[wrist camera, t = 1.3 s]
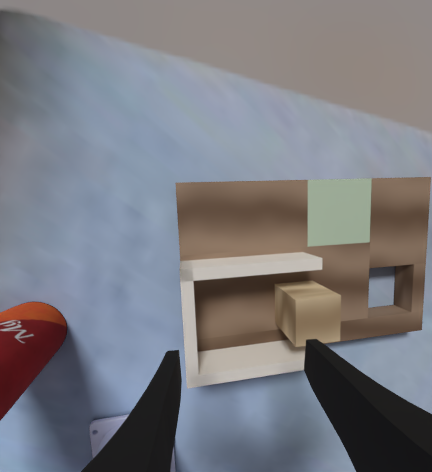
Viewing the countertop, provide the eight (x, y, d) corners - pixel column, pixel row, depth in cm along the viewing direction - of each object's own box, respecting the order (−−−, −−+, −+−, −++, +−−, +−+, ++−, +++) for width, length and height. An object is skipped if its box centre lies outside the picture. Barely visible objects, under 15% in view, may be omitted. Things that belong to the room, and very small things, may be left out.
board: (403, 321, 26) (421, 329, 24) (186, 350, 22) (186, 363, 20) (410, 180, 24) (430, 177, 22) (176, 185, 20) (175, 182, 18)
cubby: (303, 346, 22) (321, 367, 19) (186, 363, 20) (187, 388, 17) (302, 252, 21) (322, 258, 18) (180, 261, 19) (179, 269, 16)
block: (312, 318, 22) (340, 340, 18) (275, 322, 21) (295, 347, 17) (312, 280, 21) (341, 295, 17) (274, 284, 21) (295, 300, 17)
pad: (354, 240, 24) (369, 242, 22) (297, 244, 23) (307, 246, 21) (356, 181, 23) (371, 178, 21) (296, 182, 22) (307, 179, 20)
